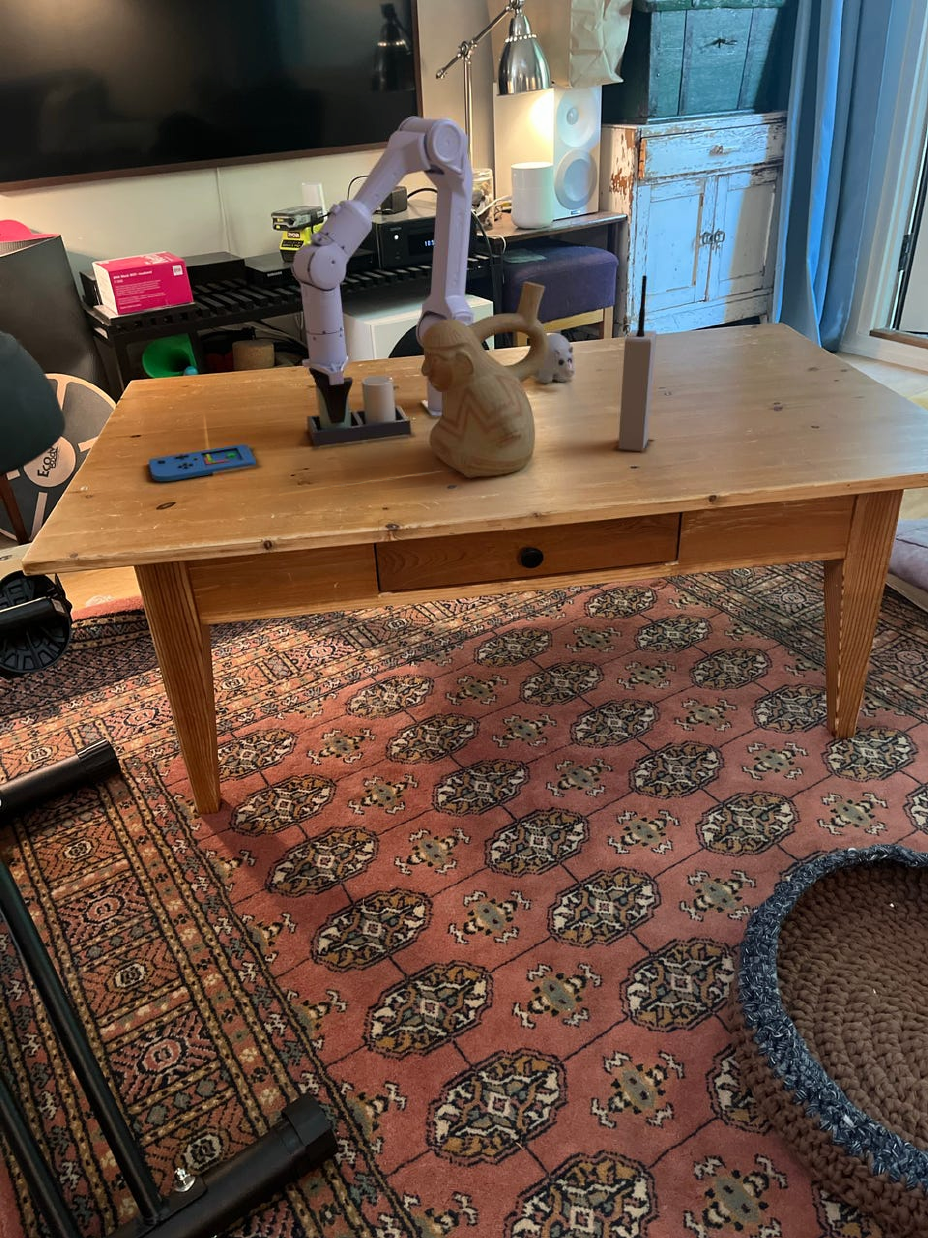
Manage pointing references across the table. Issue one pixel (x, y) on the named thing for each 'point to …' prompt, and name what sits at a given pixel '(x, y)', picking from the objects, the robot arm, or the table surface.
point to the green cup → (324, 417)
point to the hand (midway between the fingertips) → (334, 416)
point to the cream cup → (378, 399)
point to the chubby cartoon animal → (557, 360)
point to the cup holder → (358, 429)
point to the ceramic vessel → (484, 390)
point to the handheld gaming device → (201, 463)
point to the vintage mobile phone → (637, 383)
